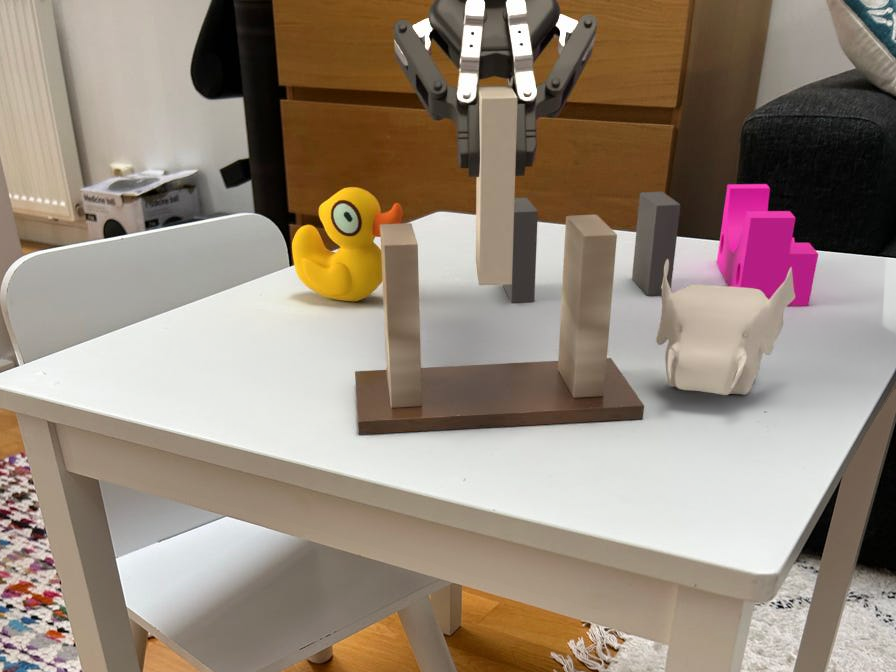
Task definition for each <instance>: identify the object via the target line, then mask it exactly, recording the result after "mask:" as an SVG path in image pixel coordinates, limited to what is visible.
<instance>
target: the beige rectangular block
mask: <svg viewBox="0 0 896 672" xmlns="http://www.w3.org/2000/svg"><path fill="white" fill-rule="evenodd" d="M517 99H518V98H517V96H516V94H515V92H514V91H513V89H512V87H511V86H510V85H479V86H478V95H477V105H479V124H480V170H479V177H476V181H475V182H476V185H475V187H476V191H475V196H476V198H475V202H476V203H475V209H476V210H475V267H476V274H477V281H478V282H477V283H478V285H479V286H503V285H511V284H512V265H513V232H514V198H516V197H515V196H516V176H515V165H516V132H517Z"/></svg>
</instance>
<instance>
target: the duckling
mask: <svg viewBox="0 0 896 672" xmlns="http://www.w3.org/2000/svg"><path fill="white" fill-rule="evenodd" d="M403 215H404V212H403V208H402V205H401V204H400V203H399V202H395V203H394V204H393V206H392V207H391V209H390V210H388V211H385V212H382V211H381V205H380V203H379V200H378V199H377V198H376V196H374V194H372V193H371V192H370V191H368V190H366V189H364V188H360V187H357V186H351V187H344V188H342V189H340V190H338V191H337V192H336V193H334V194H333V195H332V196H330V197H329V198H328V199H327V200H325V201H323V202H322V203H321V204H320V205H319V207H318V218H319V220H320V222H321V223H322V226H323V228H324V231H325V232H326V234H327V236H328V237H329V239H330V240H331V241H332V242H334V243H335V244H336V245H337V246H338V247H339V248H338V249H337V250H336V251H332V250H329V249H327V247H326V246H325V244H324V241H323V239H322V237H321V234H320V232H319V230H318V229H317V228H316V227H315V226H314V225H313V224H306V225H302V226H301V227H299V228H298V230H297V231H296V232H295V234H294V237H293V239H292V242H291V253H292V260H293V265H294V268H295V272H296V275H297V277H298V279H299V280H300V281H301V282H302V283H303V285H304V286H305V287H307V288H308V289H310V290H311V291H313V292H315V293H316V294H318V295H320V296H323V297H324V298H328V299H331V300H338V301H346V302H358V301H361V300H364V299H366V298H368V297H369V296H370V295H371V294H373V293H374V291H376V289H378V288H379V286H381V284H383V280H382V258H381V247H380V246H379V245H378V244H377V243H375V242H374V241H375V239H376V238H381V237H380V225H381V224H402V221H403V220H402V219H403Z"/></svg>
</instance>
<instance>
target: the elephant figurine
mask: <svg viewBox="0 0 896 672" xmlns="http://www.w3.org/2000/svg"><path fill="white" fill-rule="evenodd" d="M668 269H669V260H668V259H667V260H666V262H665V265H664V277H663V283H662V286H661V288H662V295H661V316H660V322H659V327H658V330H657V334H656V341H655V342H656V343H657V345H658V346H663V345H664V344H665V343H666V342H667V341H668V344H667V346H666V350H665V353H664V354H665V355H664V363H665V364H664V365H665V371H666V377H667V378H666V379H667V384H668V386H669V387H670V388H677V389H679V390H682V391H694V392H702V393H703V392H704V393H709V394H715V395H721V396H728V395H729V394H730V395H732V394H733V395H747V394H748V393H749V392H750V391H751V390H752V387H753V384H754V382H755V379H756V377H757V375H758V373H759V370H760V366H761V363H762V360H763V356H764V355H765V356H770V355H771V354H772V353H773V351H774V348H775V342H776V341H777V339H778V338H779V336H780V334H781V332H782V330H783V327H784V313H785V310H786V308H787V307H788V306H789V305H788V304H789V303H791V302H792V301H793V300H794V299H795V293H794V288H793V277H792V267H791V268H790V269H789V272H788V274H787V277H786V280H785V281H784V282H783V284H782V285H781V286H780V287H779V288H778V289H777V290H776V292H775V293H774V294H773V295H772V297H771V298H770V299H768V298H767V297H766V296H765V294H764V293H763V292H762V291H761V290H758V289H753V288H742V287H729V286H728V285H714V284H699V283H698V284H694V283H693V284H690V285H687V286H686V287H685V288H681V289H678V290H676V291H674V292H673V291H672V288H671V289H670V286H669V284H668V281H667V274H668ZM763 354H764V355H763Z"/></svg>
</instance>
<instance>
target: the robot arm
mask: <svg viewBox="0 0 896 672" xmlns="http://www.w3.org/2000/svg"><path fill="white" fill-rule="evenodd" d="M597 28H598V19H597V17H595V16H594V15H593V14H584V15H582V16H581V17H580V18H579V19H578V20H576V19H573V18H571V17H569V16H567V15H564V14H561V6H560V3H559V2H558V1H557V0H434V1H433V2H432V4H431V6H430V8H429V9H428V16H427V18H425V19H423V20H421V21H419V22H417V23H415V24H412V23H411V22H410V21H409V20H407V19H399V20H397V21H395V23H394V24H393V29H392V30H393V42H394V43H393V44H394V45H393V46H394V57H395V61H396V62H397V64H398V66H399V67H400V69H401V71H402V73H403V74H404V76H405V77H406V79H407V81H408V82H409V84H410V86H411V87H412V89H413V90H414V92H415V94H416V95H417V97H418V99H419V100H420V102H421V104H422V106H423V107H424V109H425V110H426V113H427V114H428V116H429V117H430V118H431V119H432V120H434V121H442V120H445V119H448V120H450V121H452V122H453V123H454V125H455V126H456V153H457V155H456V157H457V161H456V162H457V164H458V167H459V169H468V171H467V173H468V174H467V175H468V178H477V177H479V170H480V124H479V105H477V95H478V86H480V81H481V80H485V79H488V78H493V77H495V78H502V79H505V80H507V86H509V85H510V86H511V87H512V89H513V91H514V92H515V94H516V96H517V98H518V99H517V132H516V165H515V177H525V174H526V173H525V172H526V168H533V165H534V163H535V161H536V153H537V147H538V139H537V120H538V119H539V118H541V117H544V116H545V117H546V118H549V119H555V118H557V117H558V116H559V115H560V114H561V112H562V110H563V108H564V106H565V105H566V103H567V101H568V99H569V97H570V96H571V94H572V92H573V90H574V88H575V86H576V84H577V82H578V80H580V77H581V75H582V73H583V71H584V69H585V68H586V65H587V64H588V62H589V60H590V58H591V57H592V54H593V50H594V44H595V39H596V35H597ZM554 38H555V39H556V40H557V41H558V42H557V43H558V44H557V53H558V55H559V56H558V57H557V59H556V62H555V63H554V65H553V67H552V69H551V71H550V72H549V74H548V76H547V78H546V79H545V82H542V83H539V84H537V83H536V78H535V71H534V64H535V62H536V61H537V60H538V58H539V57H540V56H541V54H542V53H543V51H544V50H545V49H546V48H547V47H548V45H549V44H550V43H551V42H552V40H553V39H554ZM432 42H434V43H435V44H436V46H438V48H440V50H441V51H442V52H443V53H444V55H445V56H446V57H447V58H448V59H449V61H450V62H451V63H452V64H453V65H454V66H455V67H456V69H457V70H458V71H459V72H458V80H457V81H458V82H457V87H455V86H452V85H449V84H448V82H447V80H446V79H445V77H444V75H443V74H442V72H441V70H440V69H439V67H438V66H437V64H436V62H435V61H434V59H433V57H432Z"/></svg>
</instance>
